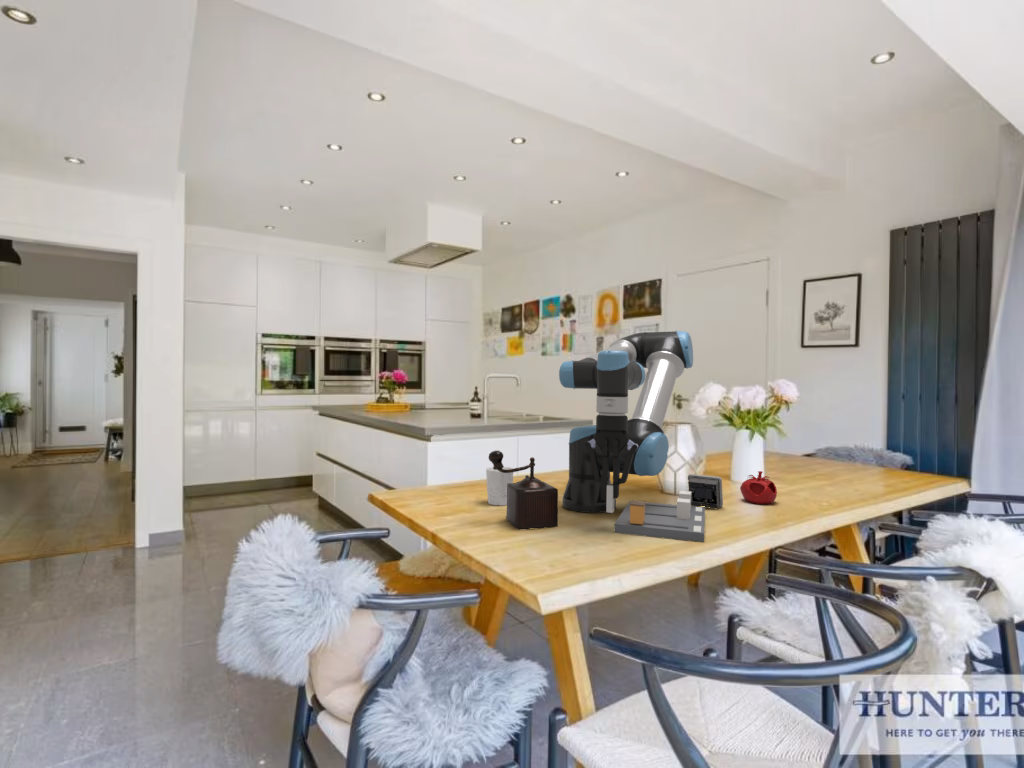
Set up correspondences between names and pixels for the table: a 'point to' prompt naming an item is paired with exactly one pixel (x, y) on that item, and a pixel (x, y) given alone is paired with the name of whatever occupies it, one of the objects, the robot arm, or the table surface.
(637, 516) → the brown rectangular block
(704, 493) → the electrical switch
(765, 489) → the pomegranate
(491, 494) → the white cup
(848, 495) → the table surface
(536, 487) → the manual coffee grinder
